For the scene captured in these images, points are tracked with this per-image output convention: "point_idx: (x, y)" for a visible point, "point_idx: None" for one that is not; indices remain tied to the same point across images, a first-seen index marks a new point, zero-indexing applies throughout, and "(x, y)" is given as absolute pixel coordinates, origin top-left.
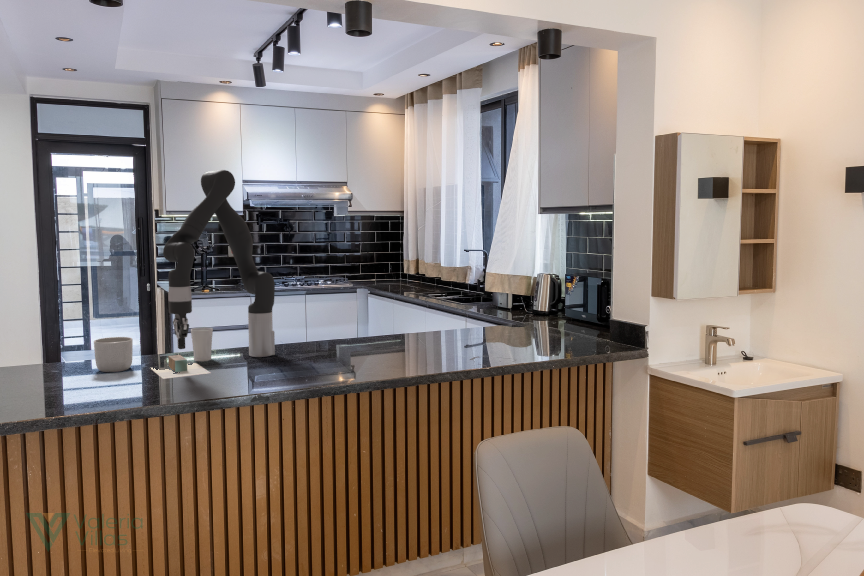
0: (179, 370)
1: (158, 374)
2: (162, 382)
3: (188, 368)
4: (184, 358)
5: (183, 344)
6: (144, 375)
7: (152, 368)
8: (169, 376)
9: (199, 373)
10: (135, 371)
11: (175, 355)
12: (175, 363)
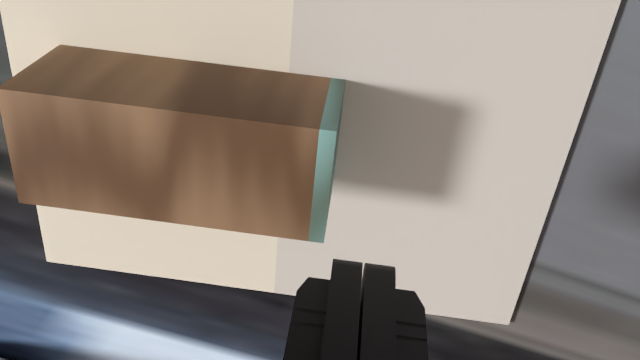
0: (336, 153)
1: None
2: (600, 352)
3: (243, 29)
4: (251, 128)
5: (421, 339)
6: (280, 353)
7: (80, 256)
8: (466, 268)
9: (560, 33)
10: (110, 349)
11: (15, 138)
12: (326, 225)
